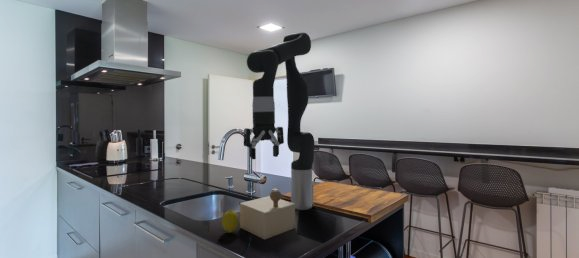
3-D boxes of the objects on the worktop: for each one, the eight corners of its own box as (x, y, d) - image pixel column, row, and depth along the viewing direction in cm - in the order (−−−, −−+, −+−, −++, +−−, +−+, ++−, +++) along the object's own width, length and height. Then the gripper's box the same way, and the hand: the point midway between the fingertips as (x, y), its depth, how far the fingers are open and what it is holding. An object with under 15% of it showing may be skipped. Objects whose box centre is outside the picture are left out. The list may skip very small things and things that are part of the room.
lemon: (230, 237, 96) (230, 213, 96) (218, 233, 99) (218, 210, 99) (241, 231, 101) (241, 209, 101) (230, 228, 104) (230, 206, 104)
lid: (269, 197, 114) (269, 181, 114) (294, 205, 104) (295, 187, 104) (240, 205, 104) (239, 187, 104) (264, 215, 94) (264, 195, 94)
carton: (269, 218, 115) (269, 198, 114) (294, 227, 104) (294, 206, 104) (240, 227, 105) (240, 205, 104) (264, 239, 95) (264, 215, 94)
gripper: (276, 110, 106) (277, 154, 107) (239, 110, 98) (240, 158, 99) (287, 110, 99) (287, 157, 100) (249, 110, 92) (250, 161, 93)
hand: (264, 157), depth 100 cm, fingers open, 8 cm apart
